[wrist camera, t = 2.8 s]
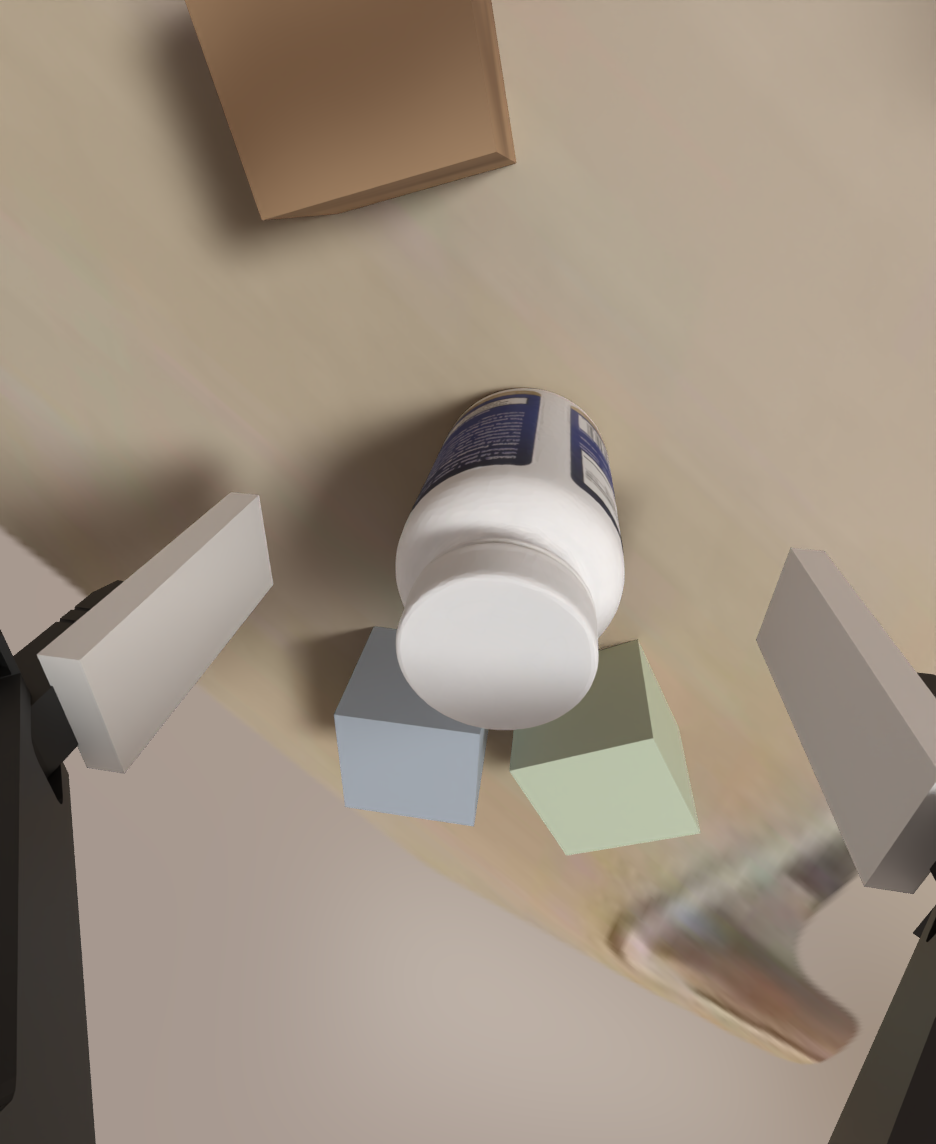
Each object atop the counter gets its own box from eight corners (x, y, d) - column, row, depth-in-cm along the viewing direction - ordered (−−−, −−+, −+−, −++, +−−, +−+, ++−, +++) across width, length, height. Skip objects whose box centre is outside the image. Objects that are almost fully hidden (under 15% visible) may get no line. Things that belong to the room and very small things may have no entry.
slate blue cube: (374, 625, 24) (334, 714, 20) (495, 639, 24) (480, 734, 20) (379, 712, 27) (345, 806, 23) (488, 726, 26) (473, 826, 22)
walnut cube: (269, -28, 14) (142, -122, 10) (474, -111, 13) (428, -258, 9) (340, 214, 16) (261, 220, 12) (516, 163, 15) (496, 151, 11)
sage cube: (519, 672, 24) (509, 770, 20) (637, 637, 23) (653, 738, 19) (566, 751, 27) (566, 855, 22) (678, 725, 25) (700, 833, 21)
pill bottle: (426, 509, 21) (336, 709, 13) (470, 359, 18) (387, 496, 10) (570, 557, 21) (571, 785, 13) (637, 417, 18) (691, 598, 10)
